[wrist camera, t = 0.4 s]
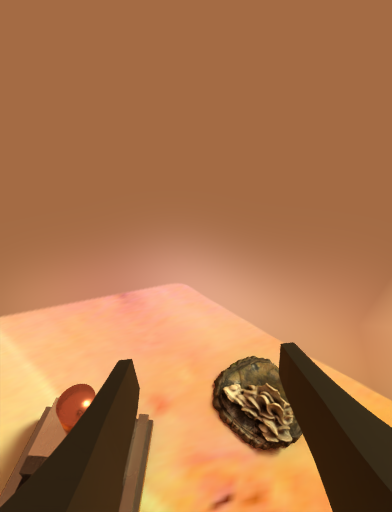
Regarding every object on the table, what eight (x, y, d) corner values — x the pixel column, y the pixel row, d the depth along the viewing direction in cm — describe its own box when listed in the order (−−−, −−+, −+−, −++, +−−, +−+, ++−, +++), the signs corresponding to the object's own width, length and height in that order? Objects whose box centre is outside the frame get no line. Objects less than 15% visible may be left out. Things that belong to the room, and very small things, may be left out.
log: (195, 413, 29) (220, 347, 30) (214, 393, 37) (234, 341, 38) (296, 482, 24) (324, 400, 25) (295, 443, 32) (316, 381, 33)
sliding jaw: (118, 491, 22) (110, 457, 17) (28, 484, 21) (-3, 448, 17) (135, 417, 27) (131, 376, 22) (62, 411, 26) (44, 369, 22)
